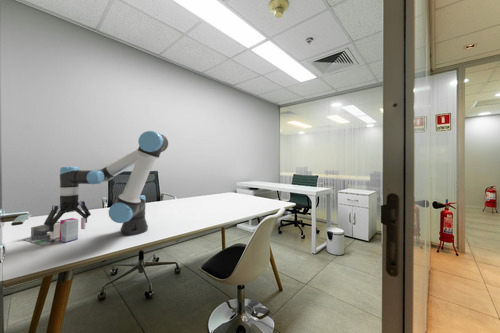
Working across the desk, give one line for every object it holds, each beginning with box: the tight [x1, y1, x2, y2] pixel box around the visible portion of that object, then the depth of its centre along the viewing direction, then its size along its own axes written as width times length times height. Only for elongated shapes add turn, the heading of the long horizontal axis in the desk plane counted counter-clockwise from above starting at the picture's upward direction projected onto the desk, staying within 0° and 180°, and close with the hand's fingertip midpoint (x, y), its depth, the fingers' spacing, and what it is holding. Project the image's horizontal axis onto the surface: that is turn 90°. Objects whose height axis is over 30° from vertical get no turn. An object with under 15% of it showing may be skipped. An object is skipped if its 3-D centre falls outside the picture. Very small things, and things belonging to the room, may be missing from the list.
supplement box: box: [59, 217, 80, 244], centre depth 108 cm, size 6×6×12 cm
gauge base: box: [23, 220, 60, 247], centre depth 110 cm, size 18×16×6 cm
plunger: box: [37, 223, 60, 240], centre depth 109 cm, size 8×13×8 cm, turn 161°
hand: (69, 233), depth 108 cm, fingers open, 13 cm apart
